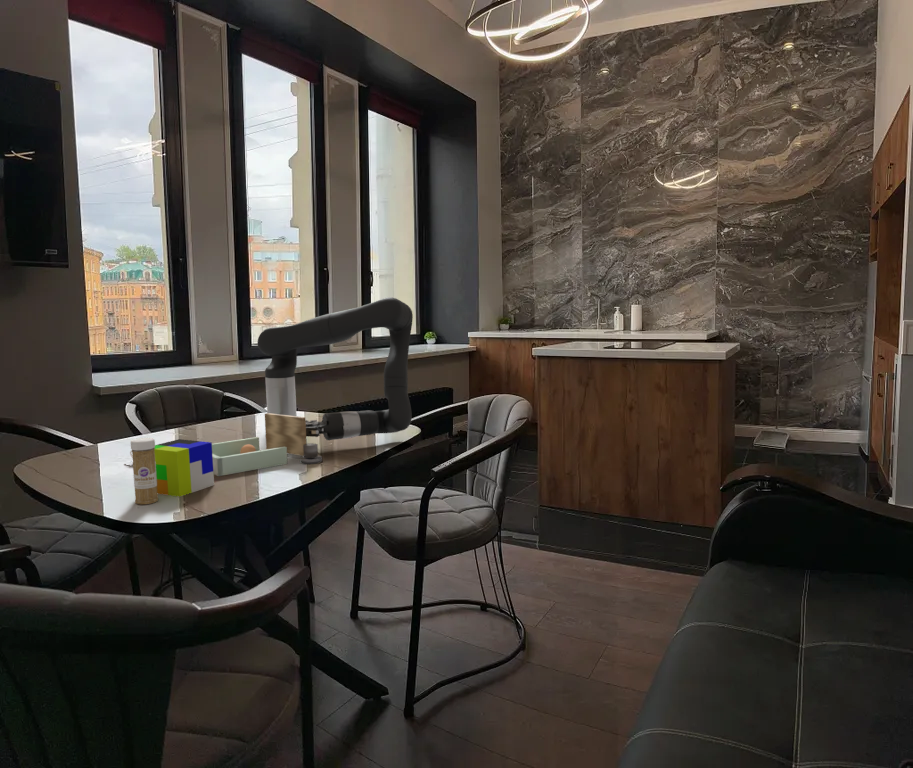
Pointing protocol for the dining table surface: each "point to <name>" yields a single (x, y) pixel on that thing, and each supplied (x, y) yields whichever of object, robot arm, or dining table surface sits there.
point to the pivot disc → (311, 460)
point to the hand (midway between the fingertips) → (279, 431)
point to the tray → (244, 457)
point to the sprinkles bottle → (144, 470)
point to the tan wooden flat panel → (288, 435)
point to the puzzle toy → (183, 467)
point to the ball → (247, 449)
